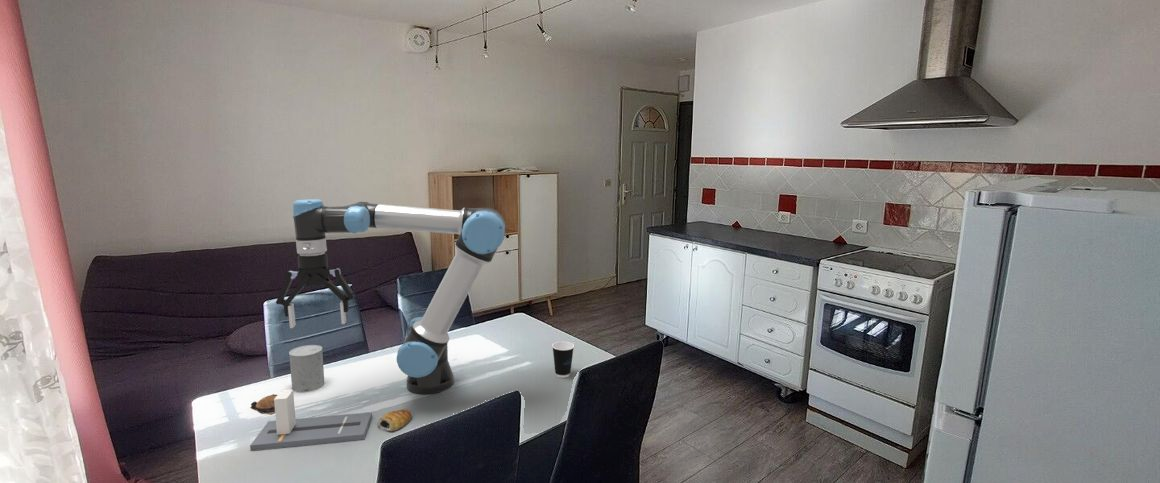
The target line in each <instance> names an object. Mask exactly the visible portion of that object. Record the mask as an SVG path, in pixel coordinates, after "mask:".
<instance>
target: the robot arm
mask: <svg viewBox="0 0 1160 483" xmlns="http://www.w3.org/2000/svg"><path fill="white" fill-rule="evenodd" d="M322 200H323V199H322ZM322 200H321V199H319V198H317V199H315V198H313V199H311V198H309V199H306V198H305V199H297V200H295V201H294V202H293V204H292V207H293V208H292V212H293V214H292V215H293V216H292V218H293V222H294V223H293V225H294V232H295V244H296V245H295V246H296V254H298V256H297V264H298V265H297V267H298V270H297V271H294V270H291V269H290V270H288V271H287V272H286V274H285V281H284V283H283V286H282V287H281V290H280V292H279V293H278V294H279V295H278V296H277V299H276V301H275V304H276V305H282V306H283V307H284V309H283V310H284V317H288V319H289V320H288V321H289V328H290V329H294V328H295V327H296V324H297V323H296V314H295V313H296V312H295V306H294V303H292V302H293V300H294V299H295V298H296V296H298V294H299V293H300V292H301V290H302V289H303V288H304V287H305V286H308V287H312V286H315V287H316V286H322V285H324V286H325V287H326V288H327V289H328V290H330V291H331V292H332V293H333V295H335V296H337V297H338V298H339V299H340V302H339V309H340V318H341V319H340V320H341V321H340V322H341V325H345V324H346V322H347V316H346V315H347V314H346V313H348V312H349V310H350V307H349V306H350V305H349V304H350V303H349V301H350V300H353V299H354V298H355V295H356V294H355V293H354V291H353V289H352V288H351V287H350V285H349V284H348V282H347V280H346V279H345V278H344V277H343V275H342V271H341V268H340V267H336V269H330V268H329V262H328V261H329V260H328V254H327V251H328V247H327V239H326V234H327V233H328V234H330V233H332V234H335V233H336V234H337V233H340V234H342V233H345V234H346V233H352V234H356V233H365V232H367V231H368V229H369V228H370V229H371V228H372V229H373V228H374V229H375V228H376V229H388V230H402V231H414V232H425V233H426V232H427V233H439V234H452V235H459V236H458V238H457V239H456V241H455V244H454V246H455V248H456V253H455V255H454V257H453V259H452V260H451V262H450V265H448V267H447V270H446V272H445V274H444V276H443V278H442V280H441V282H440V283H439V285H438V288H437V289H436V291H435V293H434V295H433V297H432V298H431V301H430V303H429V304H428V307H427V309H426V310H425V313H424V314H423V316H418V317H414V318H412V319H411V320H410V322H409V331H408V333H407V336H406V337H405V339H404V341H403V343H402V345H401V346H400V347H399V349H398V350H397V354H396V363H397V364H396V365H397V366H398V369H400V371H401V372H402V373H403V374H405V375H406V388H407V390H408V391H409V392H411V393H413V394H420V395H429V394H436V393H440V392H444V391H445V390H446V391H447V390H448V389H449V388H451V387H452V386H453V384H454V377H455V375H454V372H453V370H452V367H451V364H450V362H449V358H448V357H449V356H448V355H449V353H448V350H449V348H448V343H449V341H450V336H449V330H450V329H451V327H452V325H453V323H454V321H455V319H456V317H457V315H458V313H459V312H460V309H461V308H462V306H463V304H464V303H465V300H466V299H467V296H468V294H469V293H470V291H471V289H472V288H473V285H474V283H475V281H476V280H477V278H478V277H479V273H480V272H481V270H482V268H483V266H484V265H486V264H489V263H491V262H492V260H493V258H494V256H495V254H496V253H497V250H498V248H499V247H500V246H501V245H502V243H503V242H504V239H505V236H506V230H507V223H506V220H505V217H504V216H503V215H502V213H500V212H499V211H498V210H497V209H494V208H493V207H492V208H491V207H477V208H476V207H475V208H473V207H463V208H462V209H461V210H457V209H447V208H446V209H444V208H432V207H420V206H419V207H418V206H407V205H396V204H395V205H394V204H384V203H383V204H382V203H371V202H368V201H358V202H355V203H351V204H349V205H342V206H340V205H339V206H325V205H324V204H323V203H324V202H323V201H322ZM330 275H332V277H335V279H336V281H337V282H338V284H339V285H340V286H341V288H342V290H343V291H342V290H341V288H339V287H338V286H337V285H336V284H335V283H333V282H332V279H330V278H329V276H330ZM296 277H297V278H299V279H300V280H301V281H300V282H299V283H298V285H297V286H296V287H295V289H294V290H292V292H291V293H290V295H288V296H287V294H288V291H289V290H290V287H291V285H292V282H293V280H294V279H296ZM286 296H287V298H286ZM285 298H286V299H285Z"/></svg>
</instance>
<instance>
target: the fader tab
mask: <svg viewBox="0 0 1160 483" xmlns="http://www.w3.org/2000/svg"><path fill="white" fill-rule="evenodd" d="M276 395H277V396H276V398H275V399H274V406H275V413H274V415H275V416H274V417H275V421H276V429H277V435H281V434H290V432H291V431H292V429H293V428H294V426H295V425H296V419H297V418H296V408H295V395H294V391H293V390H292V389H289V390H288V389H287V390H285V389H283V390H280V391H279V392H278V394H276Z"/></svg>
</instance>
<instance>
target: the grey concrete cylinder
mask: <svg viewBox="0 0 1160 483" xmlns="http://www.w3.org/2000/svg"><path fill="white" fill-rule="evenodd" d="M288 355H289V367H290V377H291V378H290V380H291V390H293V392H294V393H308V392H313V391H316V390H319V389H320V388H322V387H324V386H325V384H326V382H325V373H324V372H325V370H324V360H323V359H324V358H323V357H324V356H323V346H322V345H319V344H318V345H317V344H309V345H307V344H306V345H300V346H298V347H294V348H292V349H291V350H289V352H288Z"/></svg>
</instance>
